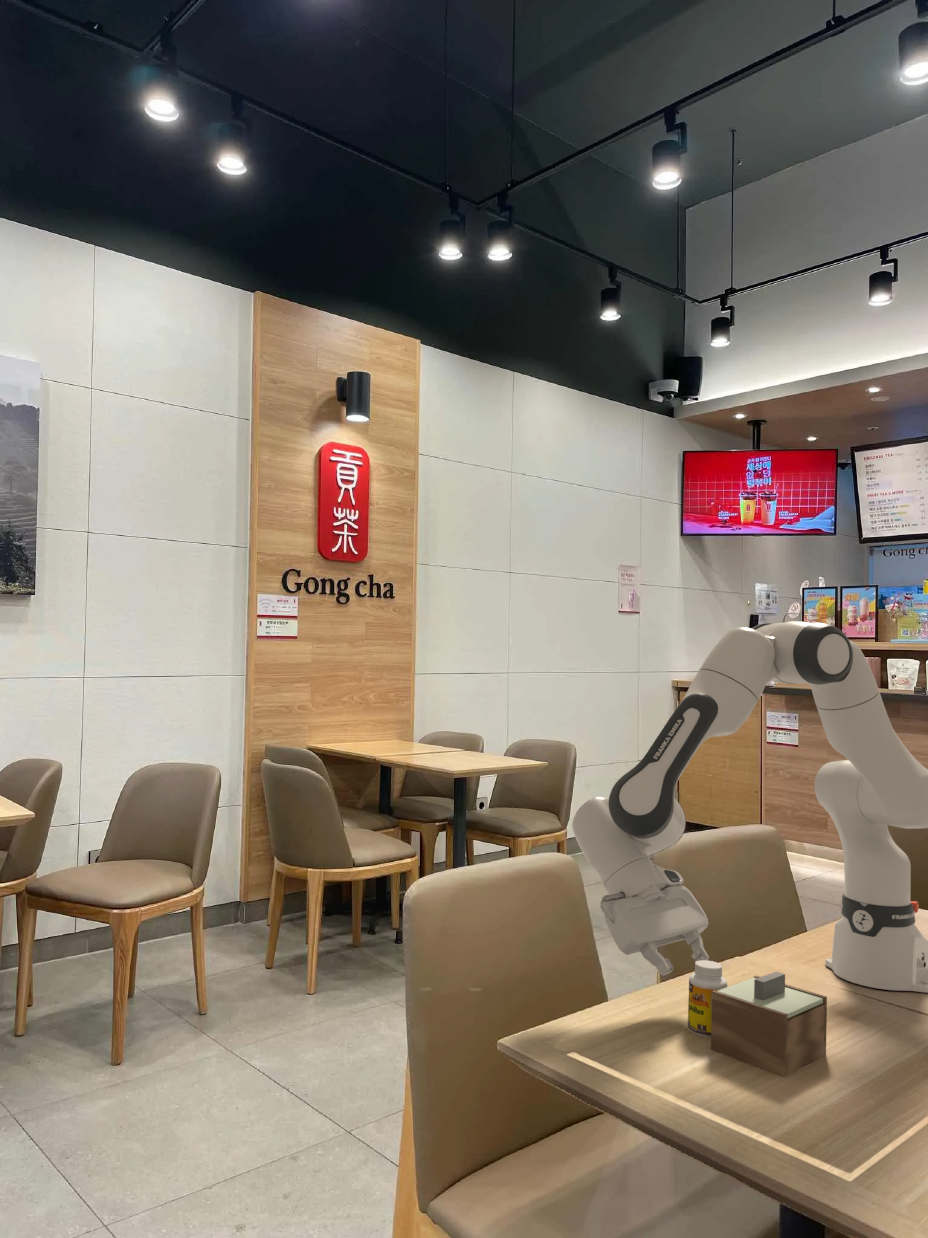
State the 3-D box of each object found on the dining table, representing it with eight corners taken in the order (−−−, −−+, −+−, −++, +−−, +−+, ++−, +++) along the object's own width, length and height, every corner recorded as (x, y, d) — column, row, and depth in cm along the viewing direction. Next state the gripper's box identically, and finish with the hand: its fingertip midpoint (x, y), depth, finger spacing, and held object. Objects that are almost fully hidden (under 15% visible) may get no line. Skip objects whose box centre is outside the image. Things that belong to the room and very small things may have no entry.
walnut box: (755, 1034, 136) (756, 975, 137) (825, 1059, 128) (827, 996, 129) (710, 1053, 128) (712, 991, 129) (783, 1081, 120) (784, 1015, 121)
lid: (753, 981, 136) (753, 960, 136) (822, 1003, 128) (823, 980, 128) (716, 995, 129) (717, 973, 129) (787, 1018, 121) (788, 995, 121)
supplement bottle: (680, 1028, 137) (682, 959, 138) (712, 1025, 139) (714, 957, 140) (700, 1042, 132) (702, 971, 133) (733, 1040, 134) (735, 969, 134)
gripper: (607, 885, 138) (658, 968, 130) (685, 871, 152) (735, 945, 144) (583, 909, 141) (632, 991, 133) (662, 892, 155) (710, 966, 147)
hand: (686, 967), depth 139 cm, fingers open, 8 cm apart
